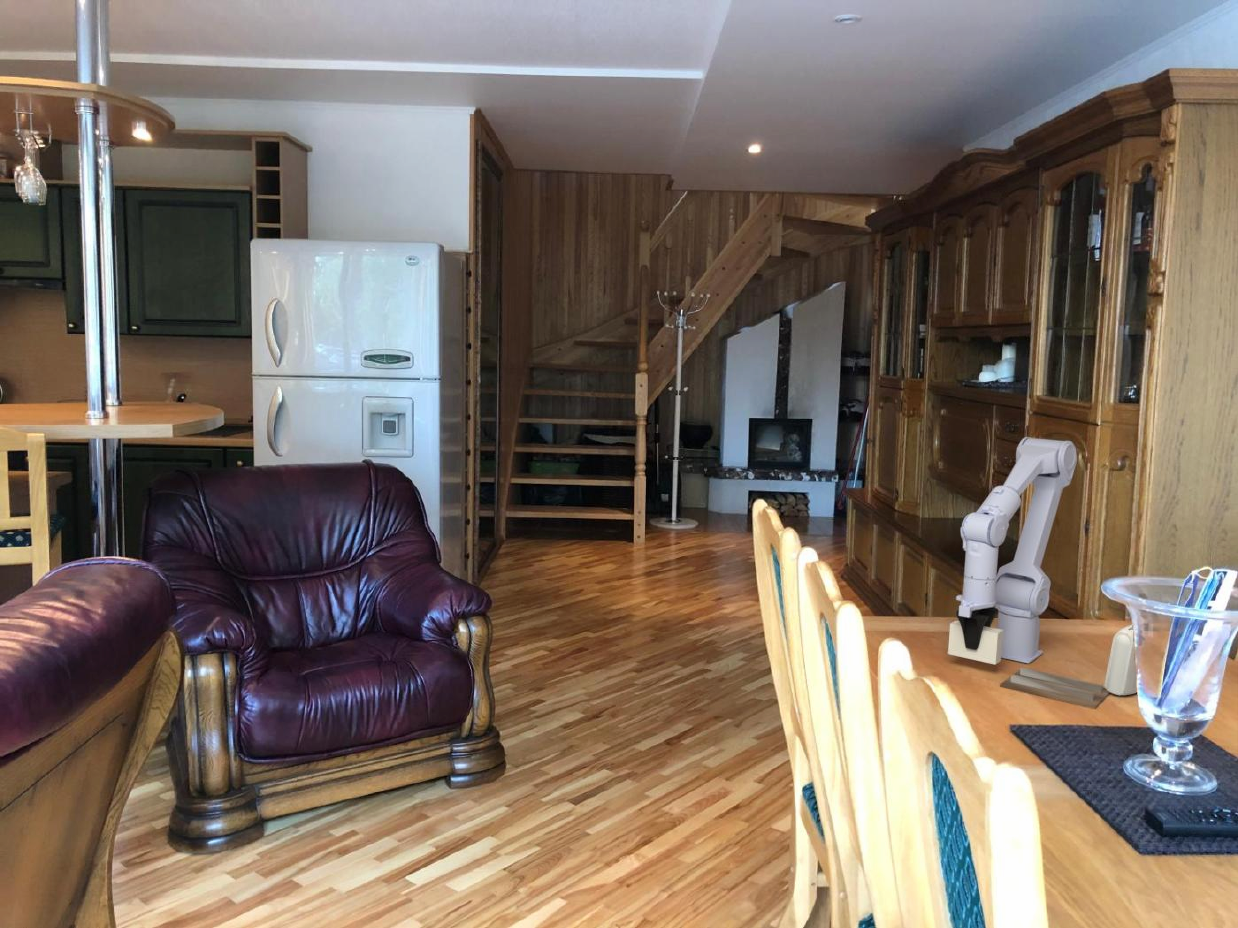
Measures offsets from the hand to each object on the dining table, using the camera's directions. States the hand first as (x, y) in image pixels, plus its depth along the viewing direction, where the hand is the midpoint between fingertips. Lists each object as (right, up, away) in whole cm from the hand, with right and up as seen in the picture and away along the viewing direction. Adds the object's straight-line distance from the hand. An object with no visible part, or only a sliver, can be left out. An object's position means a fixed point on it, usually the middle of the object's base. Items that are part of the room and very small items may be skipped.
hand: (974, 646), depth 186 cm
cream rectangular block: (0, -2, 0) cm, 2 cm away
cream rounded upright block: (+24, -6, -9) cm, 27 cm away
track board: (+11, -6, -9) cm, 16 cm away
